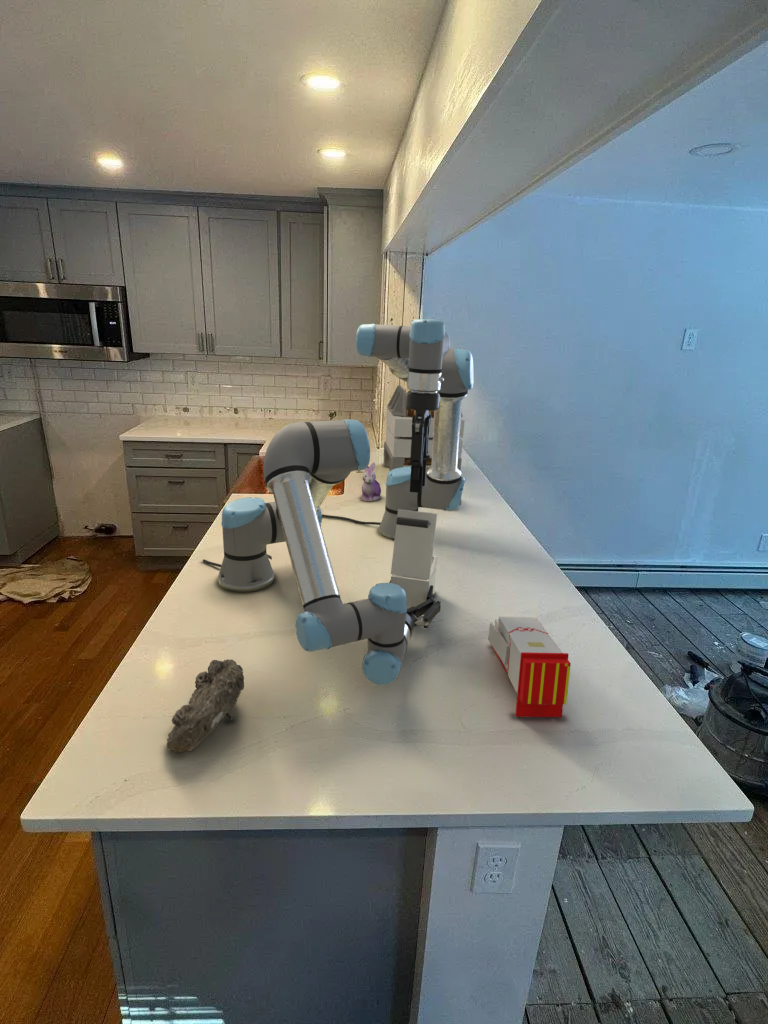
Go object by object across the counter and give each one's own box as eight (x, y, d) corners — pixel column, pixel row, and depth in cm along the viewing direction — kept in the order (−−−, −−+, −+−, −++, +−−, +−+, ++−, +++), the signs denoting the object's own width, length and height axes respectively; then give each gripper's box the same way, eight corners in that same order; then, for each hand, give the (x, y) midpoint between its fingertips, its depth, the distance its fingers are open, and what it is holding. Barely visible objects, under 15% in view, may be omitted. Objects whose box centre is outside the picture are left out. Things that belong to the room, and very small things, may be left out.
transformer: (382, 463, 289) (386, 382, 275) (445, 464, 293) (451, 384, 279) (390, 482, 257) (394, 392, 243) (460, 483, 261) (468, 394, 247)
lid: (398, 509, 143) (393, 508, 135) (437, 513, 141) (433, 513, 133) (391, 573, 143) (385, 577, 135) (429, 579, 141) (425, 583, 133)
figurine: (365, 503, 229) (367, 467, 224) (355, 495, 237) (356, 461, 232) (386, 500, 233) (388, 465, 228) (375, 493, 242) (376, 459, 237)
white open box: (400, 587, 161) (402, 551, 157) (434, 592, 159) (437, 556, 155) (388, 615, 147) (390, 576, 143) (426, 620, 145) (429, 581, 141)
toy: (534, 602, 136) (579, 659, 107) (529, 653, 139) (572, 723, 110) (484, 601, 136) (516, 658, 107) (480, 652, 139) (510, 722, 109)
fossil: (192, 660, 117) (244, 628, 112) (224, 691, 120) (276, 661, 115) (142, 746, 98) (202, 712, 93) (182, 779, 101) (242, 748, 96)
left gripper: (345, 639, 129) (368, 594, 150) (443, 654, 125) (453, 606, 146) (346, 610, 127) (369, 568, 147) (445, 624, 123) (455, 580, 143)
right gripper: (434, 398, 120) (427, 502, 128) (444, 386, 136) (437, 479, 144) (400, 395, 121) (394, 498, 129) (413, 384, 138) (408, 476, 146)
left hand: (411, 587), depth 147 cm, fingers closed on white open box, 10 cm apart
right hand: (417, 488), depth 137 cm, fingers open, 5 cm apart
